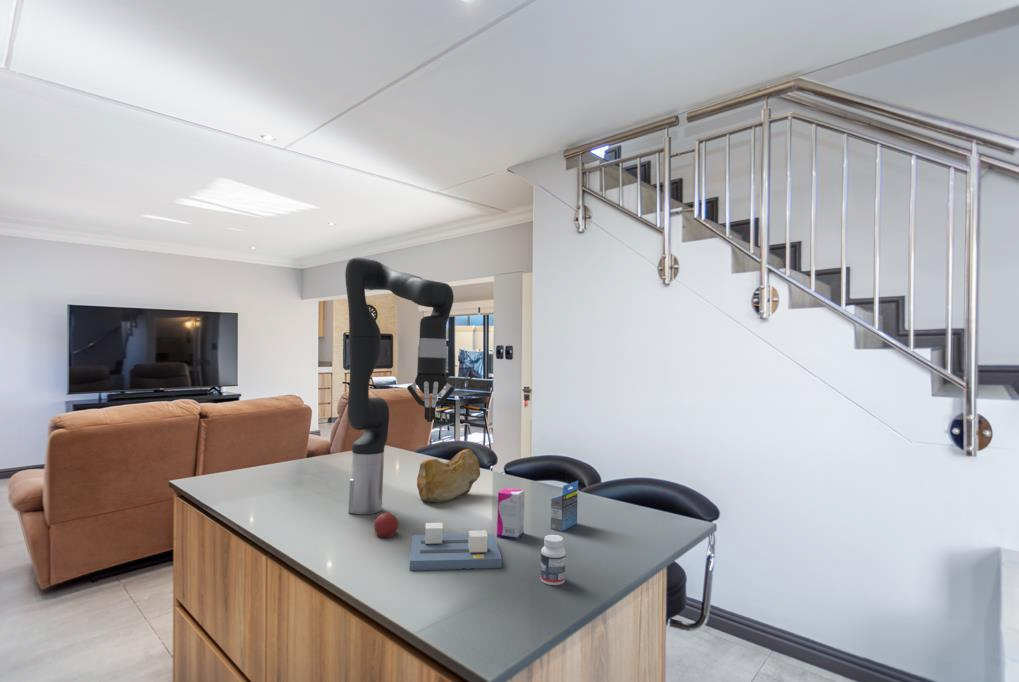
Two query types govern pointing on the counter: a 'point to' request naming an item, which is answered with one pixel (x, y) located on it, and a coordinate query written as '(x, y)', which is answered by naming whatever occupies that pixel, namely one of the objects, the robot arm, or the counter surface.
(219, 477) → the counter surface
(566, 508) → the label tape cartridge
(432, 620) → the counter surface
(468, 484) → the stone
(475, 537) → the near tab
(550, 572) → the pill bottle
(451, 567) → the switch panel
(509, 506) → the supplement box
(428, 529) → the far tab
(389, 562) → the counter surface
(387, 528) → the red bulb syringe
